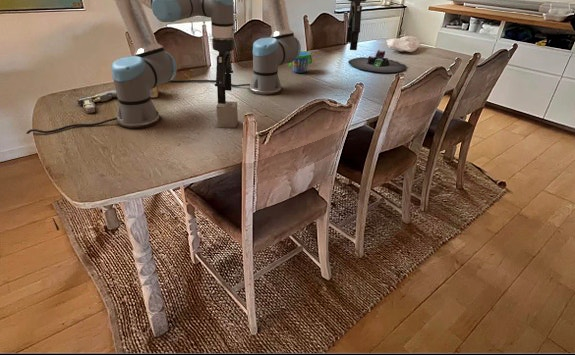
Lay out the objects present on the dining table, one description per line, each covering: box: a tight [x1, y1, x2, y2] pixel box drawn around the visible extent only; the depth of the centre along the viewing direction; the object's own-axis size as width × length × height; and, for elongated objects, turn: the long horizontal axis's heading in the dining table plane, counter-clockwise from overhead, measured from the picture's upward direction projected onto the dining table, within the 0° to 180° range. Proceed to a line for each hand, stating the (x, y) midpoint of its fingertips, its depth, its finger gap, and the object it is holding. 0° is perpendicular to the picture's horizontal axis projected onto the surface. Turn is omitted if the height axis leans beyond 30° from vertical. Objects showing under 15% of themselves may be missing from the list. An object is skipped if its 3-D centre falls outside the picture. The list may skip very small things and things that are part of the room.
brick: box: [216, 100, 239, 129], centre depth 141 cm, size 6×7×8 cm
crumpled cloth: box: [385, 35, 422, 53], centre depth 256 cm, size 24×35×9 cm
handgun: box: [76, 89, 118, 114], centre depth 155 cm, size 3×18×15 cm
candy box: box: [150, 86, 160, 99], centre depth 163 cm, size 9×4×15 cm, turn 13°
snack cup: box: [288, 50, 313, 74], centre depth 203 cm, size 16×10×10 cm
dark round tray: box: [347, 49, 407, 74], centre depth 221 cm, size 35×35×9 cm
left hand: (225, 96), depth 137 cm, fingers open, 13 cm apart
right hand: (351, 46), depth 154 cm, fingers open, 13 cm apart
